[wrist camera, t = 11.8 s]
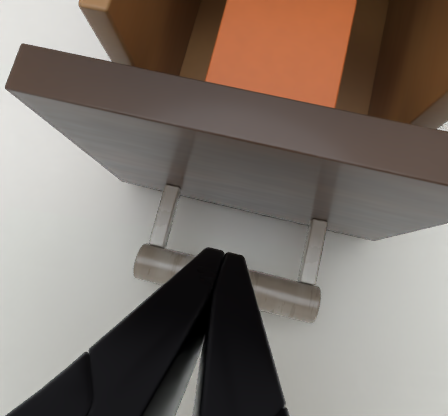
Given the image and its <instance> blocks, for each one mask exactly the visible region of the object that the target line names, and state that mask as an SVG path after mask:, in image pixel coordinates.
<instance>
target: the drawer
mask: <svg viewBox="0 0 448 416" xmlns="http://www.w3.org/2000/svg"><path fill="white" fill-rule="evenodd" d="M226 1H227V0H79V7H80V9H81V11H82V12H83V14H84V16H85V17H86V19H87V21H88V22H89V24H90V26H91V27H92V29H93V31H94V33H95V34H96V36H97V38H98V39H99V41H100V43H101V44H102V46H103V48H104V49H105V51H106V53H107V54H108V56H109V58H110V59H111V61H112V62H110V61H105V60H100V59H95V58H91V57H86V56H81V55H76V54H71V53H67V52H62V51H57V50H52V49H47V48H42V47H38V46H33V45H28V44H21V46H20V48H19V51H18V53H17V56H16V59H15V61H14V64H13V67H12V69H11V72H10V75H9V77H8V80H7V82H6V85H5V89H6V90H7V91H9V92H10V93H11V94H13V95H14V96H15V97H16V98H18V99H19V100H20V101H21V102H23V103H24V104H25V105H26V106H28V107H29V108H30V109H31V110H33V111H34V112H35V113H36V114H38V115H39V116H40V117H42V118H43V119H44V120H45V121H47V122H48V123H49V124H50V125H52V126H53V127H54V128H55V129H57V130H58V131H59V132H60V133H62V134H63V135H64V136H66V137H67V138H68V139H69V140H71V141H72V142H73V143H74V144H76V145H77V146H78V147H79V148H81V149H82V150H83V151H84V152H86V153H87V154H88V155H89V156H91V157H92V158H93V159H95V160H96V161H97V162H98V163H100V164H101V165H102V166H103V167H105V168H106V169H107V170H108V171H110V172H111V173H112V174H113V175H115V176H116V177H117V178H118V179H120V180H121V181H122V182H127V183H131V184H135V185H139V186H143V187H148V188H152V189H156V190H160V191H163V194H162V198H161V201H160V205H159V208H158V212H157V215H156V219H155V223H154V226H153V230H152V233H151V237H150V240H149V244H143V245H142V247H141V248H140V250H139V252H138V254H137V257H136V260H135V264H134V277H135V278H137V279H141V280H144V281H148V282H152V283H156V284H160V285H163V284H165V283H166V282H167V281H168V280H169V279H170V278H172V277H173V276H174V275H175V274H176V273H177V272H179V271H180V270H181V269H182V268H183V267H184V266H185V265H187V264H188V263H189V262H190V261H191V260H192V259H194V258H195V257H196V256H194V255H190V254H186V253H182V252H178V251H174V250H170V249H166V248H165V247H166V244H167V241H168V237H169V233H170V230H171V226H172V222H173V219H174V215H175V212H176V208H177V204H178V201H179V197H180V195H182V196H186V197H190V198H194V199H199V200H203V201H207V202H211V203H216V204H220V205H224V206H228V207H233V208H237V209H241V210H245V211H250V212H254V213H258V214H262V215H266V216H271V217H275V218H279V219H283V220H288V221H292V222H296V223H300V224H305V225H309V229H308V233H307V238H306V243H305V248H304V253H303V257H302V262H301V267H300V272H299V277H298V281H299V282H298V281H294V280H290V279H286V278H282V277H278V276H274V275H270V274H266V273H262V272H258V271H254V270H250V269H248V272H249V275H250V279H251V282H252V286H253V289H254V293H255V296H256V300H257V303H258V307H259V310H261V311H265V312H268V313H272V314H276V315H280V316H284V317H288V318H292V319H296V320H300V321H303V322H307V323H313V322H314V321H315V319H316V317H317V314H318V311H319V306H320V299H321V292H320V288H319V287H318V286H314V285H315V284H316V279H317V274H318V269H319V264H320V259H321V254H322V249H323V244H324V239H325V234H326V230H330V231H334V232H339V233H343V234H347V235H351V236H356V237H360V238H364V239H368V240H373V241H375V240H379V239H384V238H388V237H392V236H396V235H400V234H405V233H409V232H413V231H417V230H421V229H426V228H430V227H434V226H438V225H442V224H447V223H448V132H447V131H442V130H437V128H439V127H440V126H441V125H443V124H444V123H446V122H447V121H448V0H357V5H356V10H355V14H354V19H353V24H352V29H351V34H350V39H349V44H348V49H347V54H346V59H345V64H344V68H343V73H342V78H341V83H340V88H339V93H338V98H337V103H336V108H331V107H326V106H321V105H317V104H312V103H307V102H302V101H297V100H293V99H288V98H283V97H278V96H273V95H269V94H264V93H259V92H254V91H249V90H245V89H240V88H235V87H230V86H225V85H220V84H216V83H211V82H206V81H205V78H206V74H207V70H208V67H209V63H210V59H211V56H212V52H213V49H214V45H215V41H216V38H217V34H218V30H219V27H220V23H221V19H222V16H223V12H224V8H225V5H226Z"/></svg>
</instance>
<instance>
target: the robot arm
mask: <svg viewBox="0 0 448 416" xmlns="http://www.w3.org/2000/svg"><path fill="white" fill-rule="evenodd" d="M202 345H203V347H202ZM201 348H202V353H201V359H200V366H199V373H198V380H197V387H196V395H195V402H194V409H193V416H289V412H288V409H287V408H285V405H286V402H285V399H284V395H283V392H282V388H281V385H280V381H279V378H278V374H277V371H276V367H275V363H274V360H273V356H272V353H271V349H270V346H269V342H268V339H267V335H266V332H265V328H264V325H263V321H262V318H261V314H260V310H259V307H258V303H257V300H256V296H255V293H254V289H253V286H252V282H251V279H250V275H249V272H248V268H247V264H246V261H245V258H244V257H243V256H242V255H238V254H234V253H230V252H227V253H226V254H225V253H224V252H223V251H222V250H218V249H214V248H210V247H208V248H205V249H204V250H203V251H202V252H201V253H199V254H198V255H197V256H196V257H195V258H194V259H192V260H191V261H190V262H189V263H188V264H187V265H185V266H184V267H183V268H182V269H181V270H180V271H179V272H177V273H176V274H175V275H174V276H173V277H172V278H170V279H169V280H168V281H167V282H166V283H165V284H163V285H162V286H161V287H160V288H159V289H158V290H157V291H155V292H154V293H153V294H152V295H151V296H150V297H148V298H147V299H146V300H145V301H144V302H143V303H141V304H140V305H139V306H138V307H137V308H136V309H135V310H133V311H132V312H131V313H130V314H129V315H128V316H126V317H125V318H124V319H123V320H122V321H121V322H119V323H118V324H117V325H116V326H115V327H114V328H113V329H111V330H110V331H109V332H108V333H107V334H106V335H104V336H103V337H102V338H101V339H100V340H99V341H98V342H96V343H95V344H94V345H93V346H92V347H91V348H89V353H88V352H85V353H83V354H82V355H81V356H80V357H79V358H78V359H76V360H75V361H74V362H73V363H72V364H71V365H69V366H68V367H67V368H66V369H65V370H64V371H62V372H61V373H60V374H59V375H57V376H56V377H55V378H54V379H53V380H51V381H50V382H49V383H48V384H46V385H45V386H44V387H43V388H42V389H40V390H39V391H38V392H37V393H35V394H34V395H32V396H31V397H30V398H28V399H27V400H26V401H24V402H23V403H22V404H20V405H19V406H18V407H16V408H15V409H14V410H12V411H11V412H10V413H8V414H7V415H6V416H175V415H176V412H177V410H178V407H179V405H180V402H181V400H182V397H183V395H184V392H185V390H186V387H187V385H188V382H189V380H190V377H191V375H192V372H193V370H194V367H195V365H196V362H197V360H198V357H199V354H200V351H201Z"/></svg>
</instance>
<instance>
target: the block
mask: <svg viewBox="0 0 448 416" xmlns="http://www.w3.org/2000/svg"><path fill="white" fill-rule="evenodd" d="M356 5H357V0H227V1H226V5H225V8H224V12H223V16H222V19H221V23H220V27H219V30H218V34H217V38H216V41H215V45H214V49H213V52H212V56H211V59H210V63H209V67H208V70H207V74H206V78H205V81H206V82H211V83H216V84H220V85H225V86H230V87H235V88H240V89H245V90H249V91H254V92H259V93H264V94H269V95H273V96H278V97H283V98H288V99H293V100H297V101H302V102H307V103H312V104H317V105H321V106H326V107H331V108H336V103H337V98H338V93H339V88H340V83H341V78H342V73H343V68H344V64H345V59H346V54H347V49H348V44H349V39H350V34H351V29H352V24H353V19H354V14H355V10H356Z"/></svg>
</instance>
